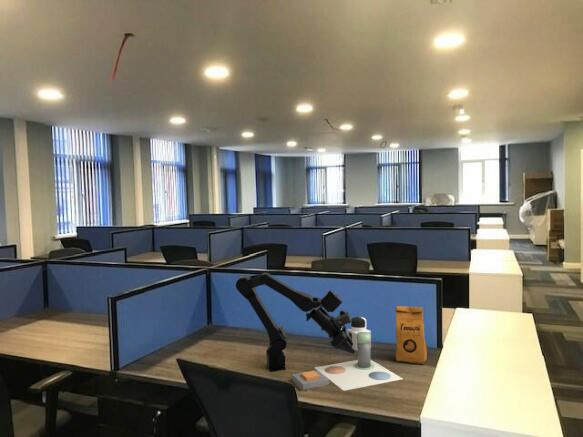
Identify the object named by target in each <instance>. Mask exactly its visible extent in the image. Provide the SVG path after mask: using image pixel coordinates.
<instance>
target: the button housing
mask: <svg viewBox="0 0 583 437" xmlns="http://www.w3.org/2000/svg"><path fill="white" fill-rule="evenodd" d="M313 371H315V372H316V373H317V374H318V375H320V379H314V380H309V381H306V380H305V379H303V378H302V377H301V373H302V372H300V373H299V372H298V373H293V374H291V379H292V380H291V381H292V383H294V385H296V386H297V387H298V388H299V389H300V390H301V391H302V392H307V391H308V389H312V388H318V387H322V386H327V385H330V380H329V379H328V378H327V377H326V376H324V375H323V374H322V373H320V372H319V371H318V370H317V369H315V370H313Z"/></svg>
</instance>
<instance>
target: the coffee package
mask: <svg viewBox="0 0 583 437" xmlns="http://www.w3.org/2000/svg"><path fill="white" fill-rule="evenodd" d="M395 321H396V322H395V341H396V346H395V361H397V362H405V363H411V364H420V365H425V362H426V361H427V360H428V359H427V357H428V356H427V354H428V353H427V352H428V346H427V342H426V340H425V323H424V308H423V306H422V307H419V306H405V305H404V306H401V305H395Z"/></svg>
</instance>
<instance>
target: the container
mask: <svg viewBox="0 0 583 437" xmlns="http://www.w3.org/2000/svg"><path fill="white" fill-rule="evenodd" d="M351 319H352V322H351V323H350V327H351V328H346V333H347V335H348V336H349V338H350V339H351V341H352V342H353V345H352V346H351V347H352V348H353V349H354V351H355V352H356V351H357V333H359V332H368V333H370V334H371V335H372V331H371V330H370V329H367V319H366V317H363V316H354V317H351ZM371 348H372V341H371V342H370V349H371Z"/></svg>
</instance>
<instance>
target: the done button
mask: <svg viewBox="0 0 583 437" xmlns="http://www.w3.org/2000/svg"><path fill="white" fill-rule="evenodd" d="M300 373H301V377H302V378H303V379H305V380H306V381H309V380H314V379H320V375H318V374H317V373H316V372H315V371H314V370H309V371H304V372H300Z"/></svg>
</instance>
